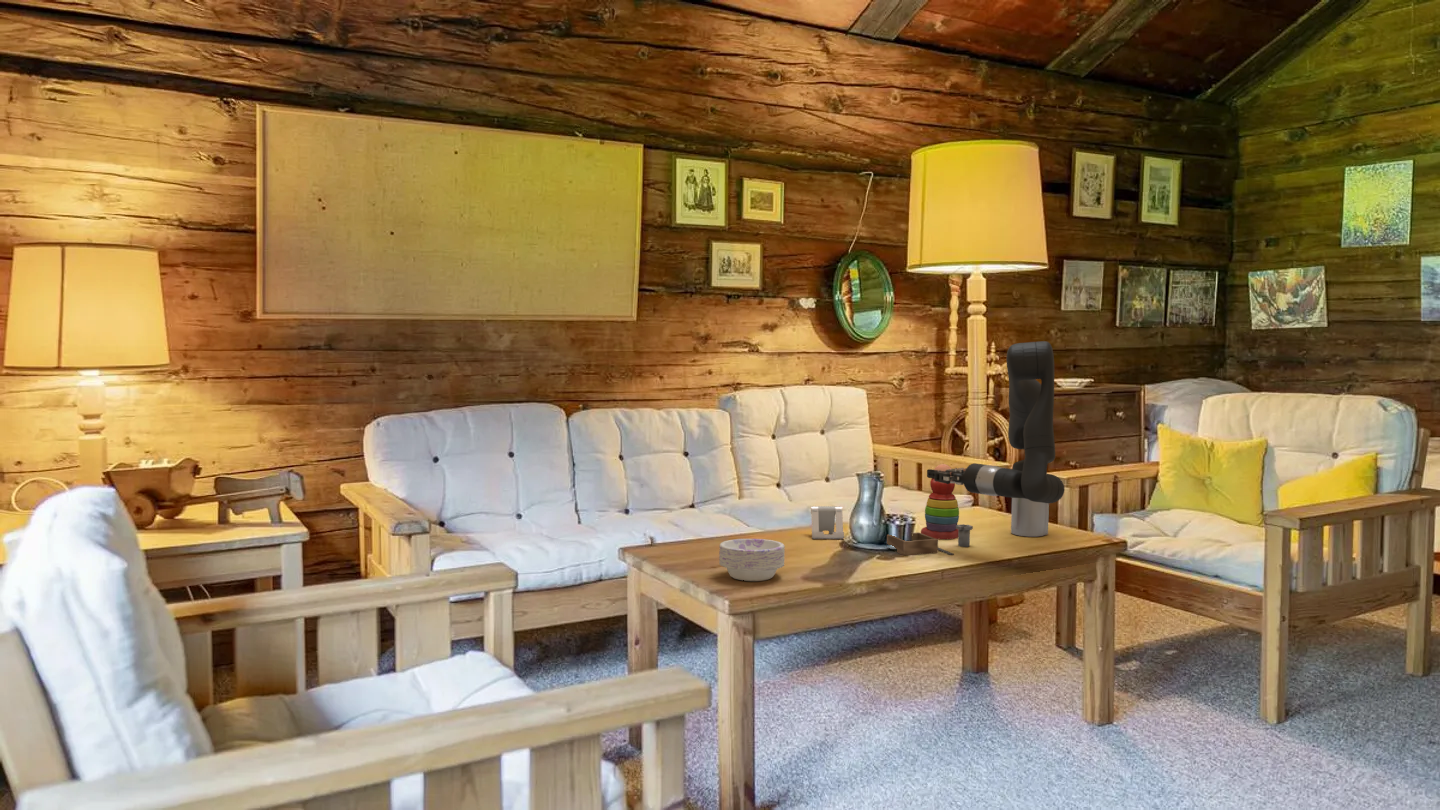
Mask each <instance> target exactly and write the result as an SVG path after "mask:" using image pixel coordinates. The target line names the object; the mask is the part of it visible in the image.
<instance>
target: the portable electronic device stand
mask: <svg viewBox="0 0 1440 810" xmlns="http://www.w3.org/2000/svg"><path fill="white" fill-rule="evenodd" d="M810 515H811V539H812V540H839V539H841V540H844V539H845V532H844V522H843V521H844V520H843V518H844V517H843V506H841V505H840V506H835V505H832V506H829V505H828V506H827V505H824V506H822V505H821V506H820V505H815V506H814V505H812V506H811V505H810ZM825 532H828V534H825ZM843 538H844V539H843Z"/></svg>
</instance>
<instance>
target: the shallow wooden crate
mask: <svg viewBox="0 0 1440 810" xmlns="http://www.w3.org/2000/svg"><path fill="white" fill-rule="evenodd" d="M912 533H913V536H912V540H913V541H905V540H902V539H900V538H897V537H895V536H892V535H889V534H886V545H887V544H888V545H892V546H894V547H895V548H896V549H897V552H896V553H898V554H900V555H903V556H913V555H915V556H917V555H926V554H928V555H929V554H938V552H939V551H938V548H939V539H935V538H933V537H930V536H927V535H925V534H922V533H921V532H919V531H918V532H912Z"/></svg>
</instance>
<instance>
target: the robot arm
mask: <svg viewBox="0 0 1440 810" xmlns="http://www.w3.org/2000/svg"><path fill="white" fill-rule="evenodd" d="M1053 350H1054V349H1053V347H1052V344H1051V343H1050V342H1049V341H1045V340H1043V341H1028V342H1018V343H1013V344H1011V345H1010V346H1009V347H1008V349H1007V352H1006V360H1005V361H1006V370H1007V376H1008V409H1009V411H1008V412H1009V420H1008V431H1007V436H1008V442H1009V444H1010V446H1011V447H1012V448H1013V449H1017V450H1024V459H1022V460H1018V461H1015V462H1014V463H1013V464H1012V468H1005V467H1001V466H998V465H997V466H996V465H989V464H983V463H975V462H974V463H971V464H969V465H968V466H967V467H966V468H965V467H958V468H957V467H955V468H951V469H947V470H946V471H941V470H934V469H930V468H929V469H927V471H926V477H927V478H929V479H932V478H933V479H934V481H937V482H942V483H946V484H950V483H955V485H958V486H964V488H965V490H966V491H967V492H969V493H972V494H979V495H985V496H990V497H991V496H993V497H994V496H995V497H1004V498H1011V517H1010V518H1011V522H1010V524H1011V526H1010V533H1011V534H1013V535H1016V536H1020V537H1044V536H1046V535H1049V516H1050V515H1049V510H1050V507H1049V506H1050V504H1054V503H1057V502H1058V501H1060V500H1061V499H1062V498H1063V496H1064V493H1065V485H1064V482H1063V481H1062V479H1061V478H1059V476H1057V475H1054V474H1052V473H1047V470H1048V465H1049V464H1050V463H1053V462H1054V461H1055V459H1056V447H1055V445H1056V443H1055V434H1054V404H1055V403H1054V402H1055V356H1054V351H1053ZM1038 380H1040V381H1041V383H1040V382H1039V381H1038ZM950 472H952V473H951V476H950ZM951 480H952V481H951Z"/></svg>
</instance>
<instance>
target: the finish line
mask: <svg viewBox="0 0 1440 810" xmlns="http://www.w3.org/2000/svg"><path fill="white" fill-rule="evenodd" d="M938 552H941V553H943V554H946V555H949V556H953V555H955V553H953V552H950V551H948V550H946V549H943V548H941V547H938Z"/></svg>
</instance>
